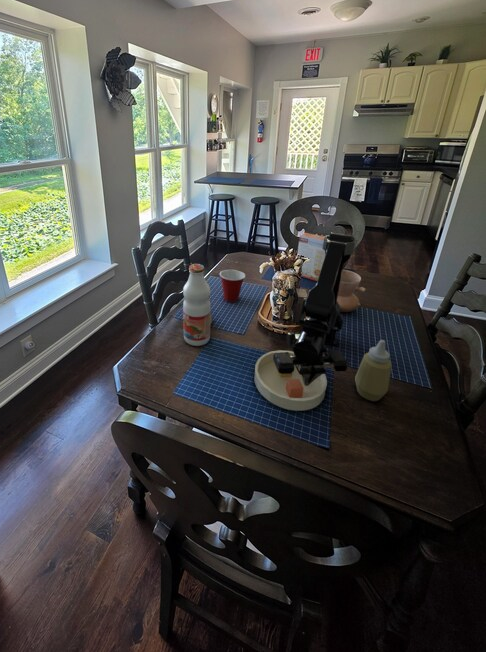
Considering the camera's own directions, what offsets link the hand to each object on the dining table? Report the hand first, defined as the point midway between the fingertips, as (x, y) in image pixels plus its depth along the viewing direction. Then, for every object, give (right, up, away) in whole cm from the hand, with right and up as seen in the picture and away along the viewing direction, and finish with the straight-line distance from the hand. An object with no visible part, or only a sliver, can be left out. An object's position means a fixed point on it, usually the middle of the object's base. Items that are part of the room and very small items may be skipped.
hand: (305, 384), depth 91 cm
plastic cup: (-15, +18, +48) cm, 53 cm away
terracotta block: (-4, -2, -1) cm, 4 cm away
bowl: (-4, -1, +3) cm, 5 cm away
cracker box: (+27, +26, +65) cm, 75 cm away
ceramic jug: (+28, +16, +41) cm, 52 cm away
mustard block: (-4, +1, +6) cm, 8 cm away
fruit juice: (-30, +7, +23) cm, 38 cm away
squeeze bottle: (+17, -2, -1) cm, 17 cm away
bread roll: (-29, +11, +32) cm, 44 cm away
